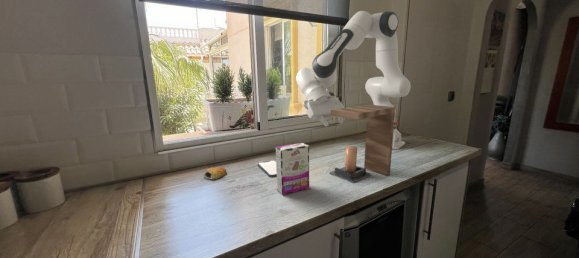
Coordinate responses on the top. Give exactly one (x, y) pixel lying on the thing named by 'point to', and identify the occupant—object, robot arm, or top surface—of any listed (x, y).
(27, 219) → the top surface
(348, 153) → the terracotta spice jar
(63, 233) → the top surface
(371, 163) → the walnut shelf
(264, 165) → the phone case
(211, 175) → the pastry
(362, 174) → the tray
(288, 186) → the candy bar box
